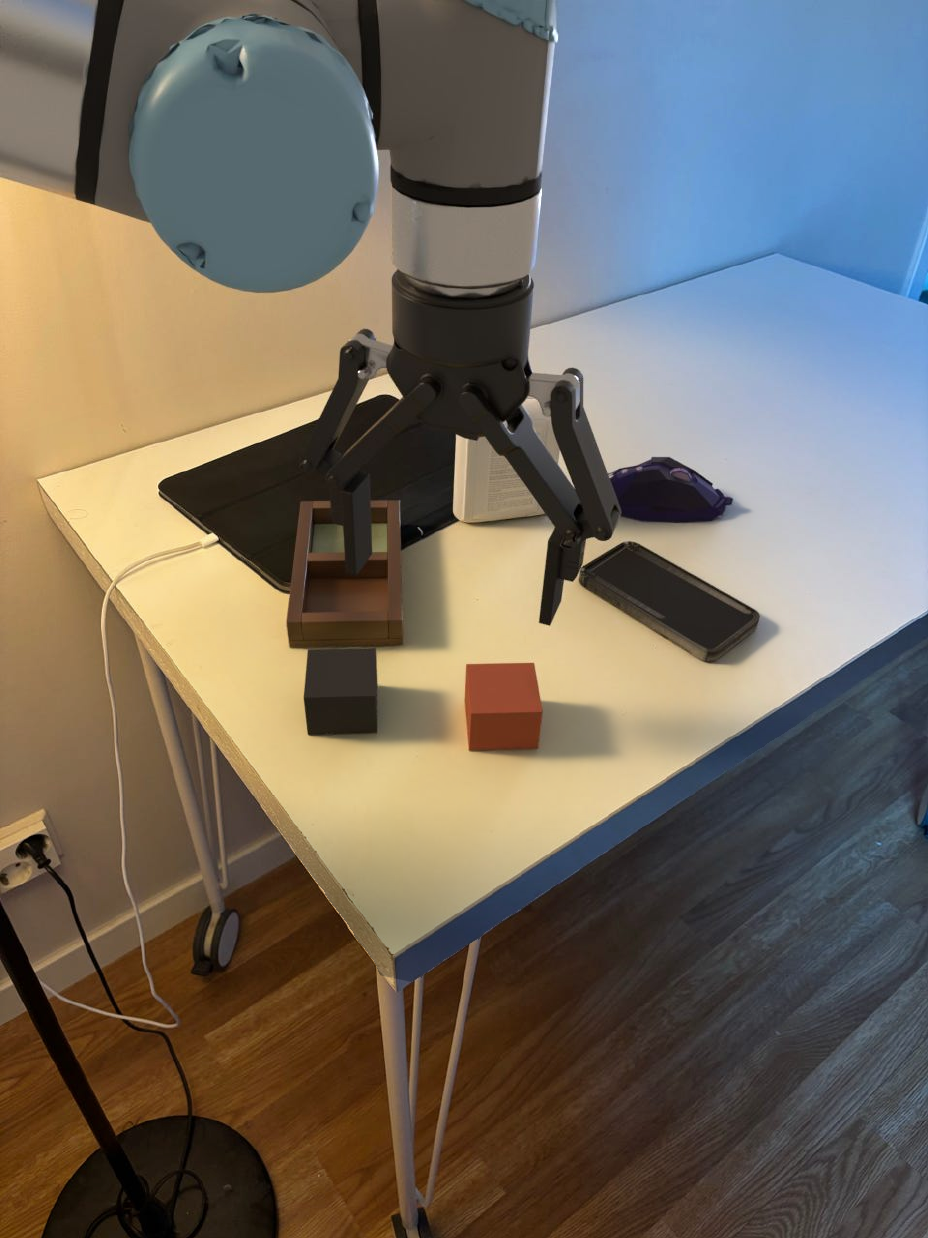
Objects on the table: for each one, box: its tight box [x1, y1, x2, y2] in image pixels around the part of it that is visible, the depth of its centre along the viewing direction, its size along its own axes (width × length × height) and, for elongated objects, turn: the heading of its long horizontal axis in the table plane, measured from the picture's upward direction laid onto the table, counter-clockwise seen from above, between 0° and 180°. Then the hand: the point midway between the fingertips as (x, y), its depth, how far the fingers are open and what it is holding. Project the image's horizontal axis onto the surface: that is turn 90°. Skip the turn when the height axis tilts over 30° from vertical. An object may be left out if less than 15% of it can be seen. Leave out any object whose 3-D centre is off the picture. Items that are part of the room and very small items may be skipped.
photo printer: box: [452, 396, 561, 523], centre depth 91 cm, size 10×4×12 cm, turn 105°
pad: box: [463, 662, 544, 752], centre depth 72 cm, size 5×5×4 cm
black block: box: [303, 647, 378, 736], centre depth 72 cm, size 5×5×4 cm
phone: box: [578, 540, 761, 663], centre depth 84 cm, size 8×1×15 cm
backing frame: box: [285, 499, 404, 648], centre depth 85 cm, size 9×18×3 cm, turn 4°
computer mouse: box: [607, 456, 734, 523], centre depth 96 cm, size 9×15×4 cm, turn 79°
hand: (452, 587), depth 64 cm, fingers open, 13 cm apart
